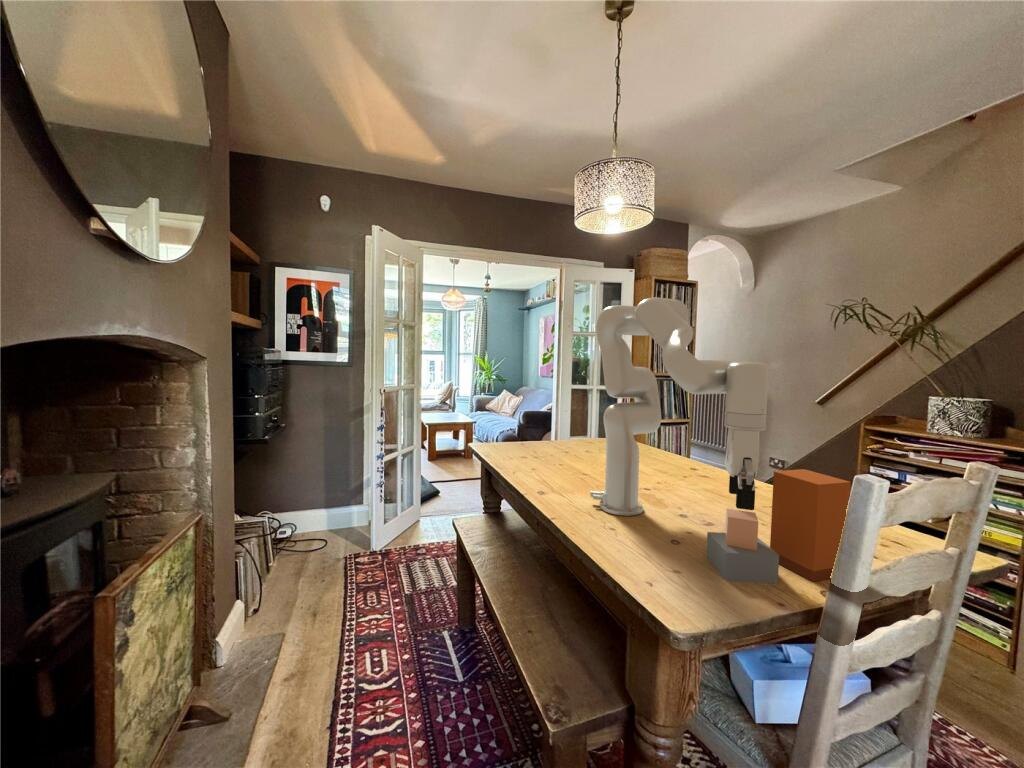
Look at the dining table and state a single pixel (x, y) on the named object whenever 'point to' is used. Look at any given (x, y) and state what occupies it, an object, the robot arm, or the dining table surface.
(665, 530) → the dining table surface
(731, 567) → the charcoal block
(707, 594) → the dining table surface
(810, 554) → the tall orange brick
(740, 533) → the terracotta block
